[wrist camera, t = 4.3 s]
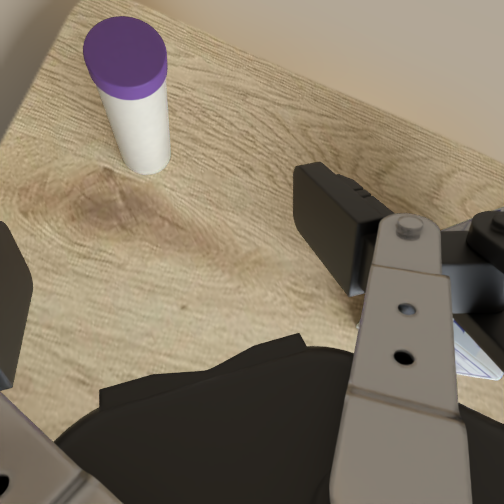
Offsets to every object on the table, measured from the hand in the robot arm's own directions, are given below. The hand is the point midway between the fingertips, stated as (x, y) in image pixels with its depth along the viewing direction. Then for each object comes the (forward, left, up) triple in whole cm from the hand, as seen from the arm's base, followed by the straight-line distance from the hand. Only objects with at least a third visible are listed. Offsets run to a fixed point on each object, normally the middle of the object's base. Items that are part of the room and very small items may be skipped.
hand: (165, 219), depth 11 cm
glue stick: (0, +9, -14) cm, 17 cm away
